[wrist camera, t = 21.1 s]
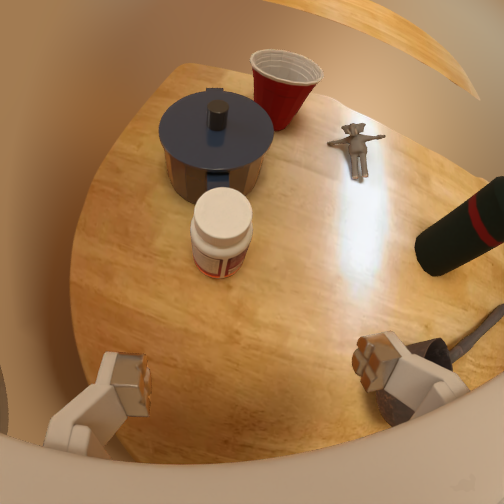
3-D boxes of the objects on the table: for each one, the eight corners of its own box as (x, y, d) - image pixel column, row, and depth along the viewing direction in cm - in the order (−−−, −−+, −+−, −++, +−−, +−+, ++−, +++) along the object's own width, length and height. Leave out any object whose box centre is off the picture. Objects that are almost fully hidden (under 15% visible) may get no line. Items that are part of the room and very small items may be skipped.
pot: (166, 228, 36) (157, 192, 28) (172, 126, 42) (169, 85, 34) (264, 224, 38) (279, 189, 30) (251, 125, 44) (260, 85, 36)
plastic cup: (298, 103, 48) (317, 52, 37) (306, 145, 44) (331, 90, 33) (239, 96, 47) (249, 41, 35) (239, 138, 43) (250, 77, 32)
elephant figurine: (324, 177, 43) (320, 124, 43) (335, 184, 48) (331, 136, 48) (388, 171, 37) (380, 115, 37) (392, 180, 42) (385, 129, 42)
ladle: (349, 367, 31) (420, 363, 22) (463, 288, 49) (502, 275, 40) (367, 446, 28) (432, 456, 20) (474, 338, 47) (512, 329, 38)
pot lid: (154, 178, 29) (149, 154, 25) (164, 98, 34) (163, 74, 30) (279, 176, 32) (289, 152, 28) (264, 98, 36) (270, 75, 32)
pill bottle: (241, 231, 37) (255, 181, 27) (245, 278, 35) (263, 242, 25) (192, 233, 36) (188, 182, 26) (194, 281, 34) (188, 245, 24)
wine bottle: (459, 265, 41) (591, 183, 14) (426, 283, 39) (587, 190, 11) (442, 225, 44) (561, 128, 16) (407, 237, 41) (548, 119, 13)
